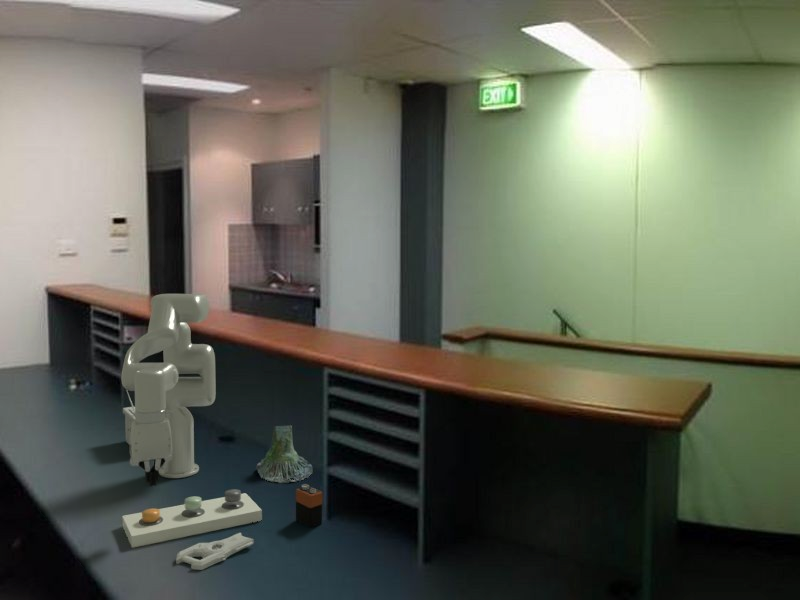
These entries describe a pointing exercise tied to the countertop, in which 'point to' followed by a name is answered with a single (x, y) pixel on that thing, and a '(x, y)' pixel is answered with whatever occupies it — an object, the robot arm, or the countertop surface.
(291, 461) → the tree stump
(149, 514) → the orange button
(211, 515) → the button panel
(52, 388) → the countertop surface
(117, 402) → the countertop surface
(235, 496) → the charcoal button
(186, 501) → the sage button
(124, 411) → the stereo radio cassette player
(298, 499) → the battery
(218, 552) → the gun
